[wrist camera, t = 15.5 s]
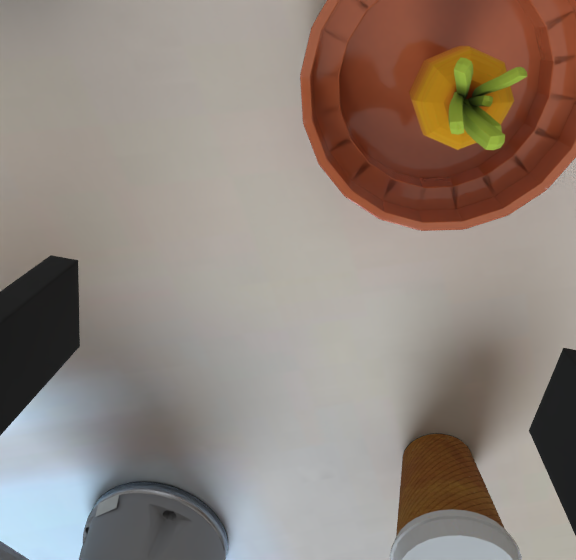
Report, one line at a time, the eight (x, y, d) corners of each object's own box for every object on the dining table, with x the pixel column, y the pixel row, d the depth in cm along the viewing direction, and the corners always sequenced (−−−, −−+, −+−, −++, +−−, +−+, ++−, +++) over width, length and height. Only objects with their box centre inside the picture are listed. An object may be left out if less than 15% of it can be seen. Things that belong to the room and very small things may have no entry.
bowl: (593, 155, 38) (631, 176, 32) (357, 233, 42) (356, 264, 37) (540, -122, 32) (576, -152, 26) (271, 4, 36) (256, 0, 31)
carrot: (402, 41, 36) (427, 50, 22) (480, 41, 35) (555, 48, 22) (396, 120, 38) (416, 171, 24) (471, 120, 37) (533, 173, 24)
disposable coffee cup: (512, 447, 49) (554, 565, 38) (453, 512, 53) (476, 636, 42) (419, 402, 48) (435, 510, 37) (366, 472, 52) (367, 588, 41)
